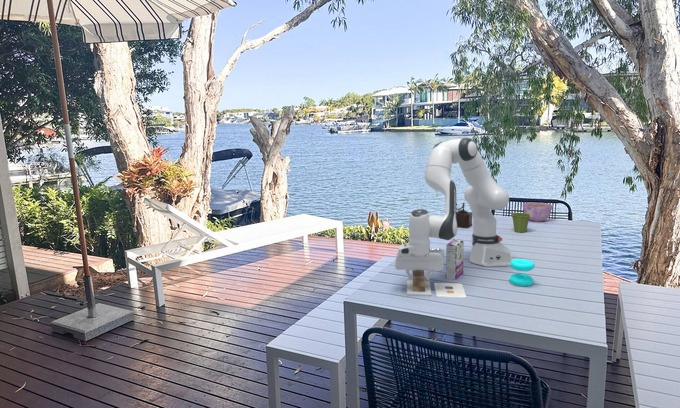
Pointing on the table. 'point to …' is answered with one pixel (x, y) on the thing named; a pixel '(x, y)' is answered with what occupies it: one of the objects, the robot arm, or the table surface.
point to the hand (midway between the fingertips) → (418, 279)
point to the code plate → (449, 290)
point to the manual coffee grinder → (463, 218)
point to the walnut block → (418, 280)
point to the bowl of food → (537, 210)
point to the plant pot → (520, 221)
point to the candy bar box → (454, 259)
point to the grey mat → (418, 293)
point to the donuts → (519, 277)
